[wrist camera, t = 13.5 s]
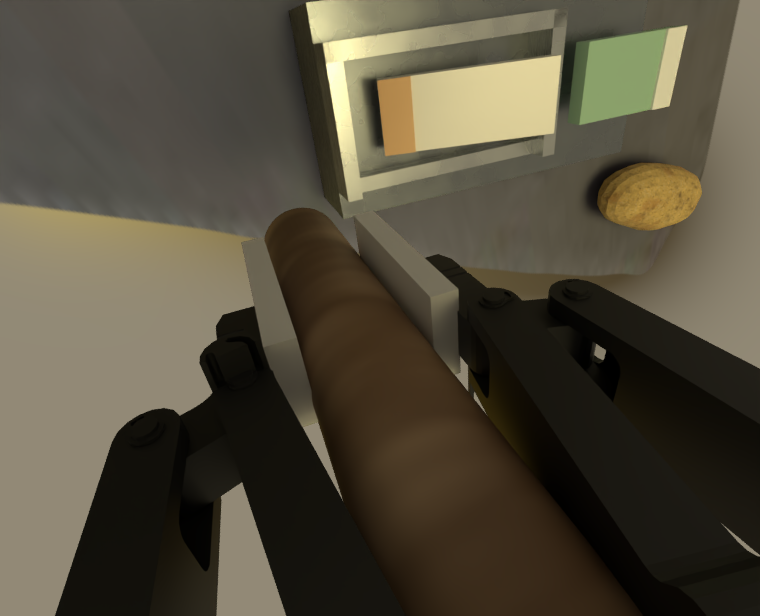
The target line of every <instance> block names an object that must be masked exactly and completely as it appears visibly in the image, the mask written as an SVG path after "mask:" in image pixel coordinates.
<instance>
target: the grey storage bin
mask: <svg viewBox="0 0 760 616" xmlns="http://www.w3.org/2000/svg"><path fill="white" fill-rule="evenodd" d="M647 2H648V0H324V1H316V2H307V3H304V4H302V5H300V6H298V7H296V8H294V9H292V10H290V11H289V15H290V21H291V26H292V31H293V36H294V41H295V47H296V52H297V57H298V62H299V67H300V72H301V78H302V83H303V88H304V93H305V98H306V103H307V109H308V114H309V119H310V124H311V129H312V135H313V140H314V145H315V150H316V155H317V160H318V166H319V171H320V176H321V181H322V186H323V191H324V197H325V198H326V199H327V200H328V202H329V203H330V204H331V205H332V206H333V207H334V209H335V210H336V211H337V212H338V213H339V214H340V216H341V217H342V218H343V219H346V218H350V217H354V216H353V215H356V214H361V213H365V212H369V211H374V212H375V211H379V210H383V209H387V208H392V207H396V206H400V205H404V204H408V203H412V202H416V201H420V200H425V199H429V198H433V197H437V196H441V195H445V194H449V193H453V192H457V191H462V190H466V189H470V188H474V187H478V186H482V185H486V184H490V183H495V182H499V181H503V180H507V179H511V178H515V177H519V176H523V175H527V174H532V173H536V172H540V171H544V170H548V169H552V168H556V167H560V166H565V165H569V164H573V163H577V162H581V161H585V160H589V159H593V158H597V157H602V156H606V155H610V154H614V153H618V152H621V148H622V142H623V136H624V131H625V125H626V120H627V115H623V116H618V117H614V118H609V119H605V120H600V121H596V122H591V123H586V124H582V125H576V124H571V123H568V114H569V105H570V96H571V87H572V78H573V69H574V60H575V51H576V42H580V41H586V40H592V39H598V38H604V37H610V36H616V35H622V34H628V33H634V32H640V31H642V30H643V25H644V19H645V14H646V8H647ZM552 54H556V55H561V64H560V75H559V85H558V96H557V106H556V117H555V127H554V133H553V134H545V135H537V136H530V137H522V138H515V139H507V140H499V141H492V142H484V143H476V144H469V145H461V146H453V147H446V148H438V149H430V150H423V151H416V152H413V153H406V154H398V155H390V156H385V151H384V142H383V133H382V124H381V115H380V106H379V96H378V87H377V78H385V77H392V76H399V75H407V74H414V73H421V72H428V71H436V70H443V69H450V68H457V67H465V66H472V65H479V64H486V63H494V62H501V61H508V60H516V59H523V58H530V57H537V56H545V55H552Z"/></svg>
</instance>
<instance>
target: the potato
mask: <svg viewBox="0 0 760 616" xmlns="http://www.w3.org/2000/svg"><path fill="white" fill-rule="evenodd" d="M701 194H702V191H701V186H700V182H699V180H698V177H697V176H696V175H694V174H692V173H691V172H689V171H687V170H685V169H684V168H682V167H678V166H673V165H668V164H662V163H638V164H634V165H631V166H628V167H626V168H623V169H621V170H619V171H616V172H615V173H613V174H612V175H610V176H609V177H608V178H606V179H605V180H604V182H603V184H602V186H601V188H600V190H599V192H598V201H597V204H598V207H599V209H600V211H601V213H602V214H603V216H604V217H605V218H606V219H608V220H610V221H612V222H614V223H617V224H620V225H624V226H627V227H630V228H634V229H637V230H656V229H660V228H663V227H666V226H669V225H673V224H676V223H678V222H680V221H682V220H683V219H685V218H687V217H688V216H689V215H690V214H691V213H692V212H693V210H694V209H695V207H696V205H697V203H698V201H699V199H700V197H701Z"/></svg>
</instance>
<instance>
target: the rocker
mask: <svg viewBox="0 0 760 616" xmlns="http://www.w3.org/2000/svg"><path fill="white" fill-rule="evenodd" d="M560 64H561V55H556V54H552V55H545V56H537V57H530V58H523V59H516V60H508V61H501V62H494V63H486V64H479V65H472V66H465V67H457V68H450V69H443V70H436V71H428V72H421V73H414V74H407V75H399V76H392V77H385V78H377V87H378V96H379V106H380V115H381V124H382V133H383V142H384V151H385V156H390V155H398V154H406V153H413V152H416V151H423V150H430V149H438V148H446V147H453V146H461V145H469V144H476V143H484V142H492V141H499V140H507V139H515V138H522V137H530V136H537V135H545V134H553V133H554V127H555V117H556V106H557V96H558V85H559V75H560Z"/></svg>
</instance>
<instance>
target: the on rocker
mask: <svg viewBox="0 0 760 616" xmlns="http://www.w3.org/2000/svg"><path fill="white" fill-rule="evenodd" d="M686 30H687V25H684V26H670V27H664V28H658V29H652V30H646V31H640V32H634V33H628V34H622V35H616V36H610V37H604V38H598V39H592V40H586V41H580V42H576V51H575V60H574V69H573V78H572V87H571V96H570V105H569V114H568V123H571V124H576V125H582V124H586V123H591V122H596V121H600V120H605V119H609V118H614V117H618V116H623V115H627V114H632V113H636V112H641V111H646V110H654V109H658V108H663V107H667V106H669V105H670V101H671V96H672V92H673V87H674V83H675V78H676V74H677V70H678V65H679V61H680V56H681V52H682V47H683V43H684V38H685V34H686Z"/></svg>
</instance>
